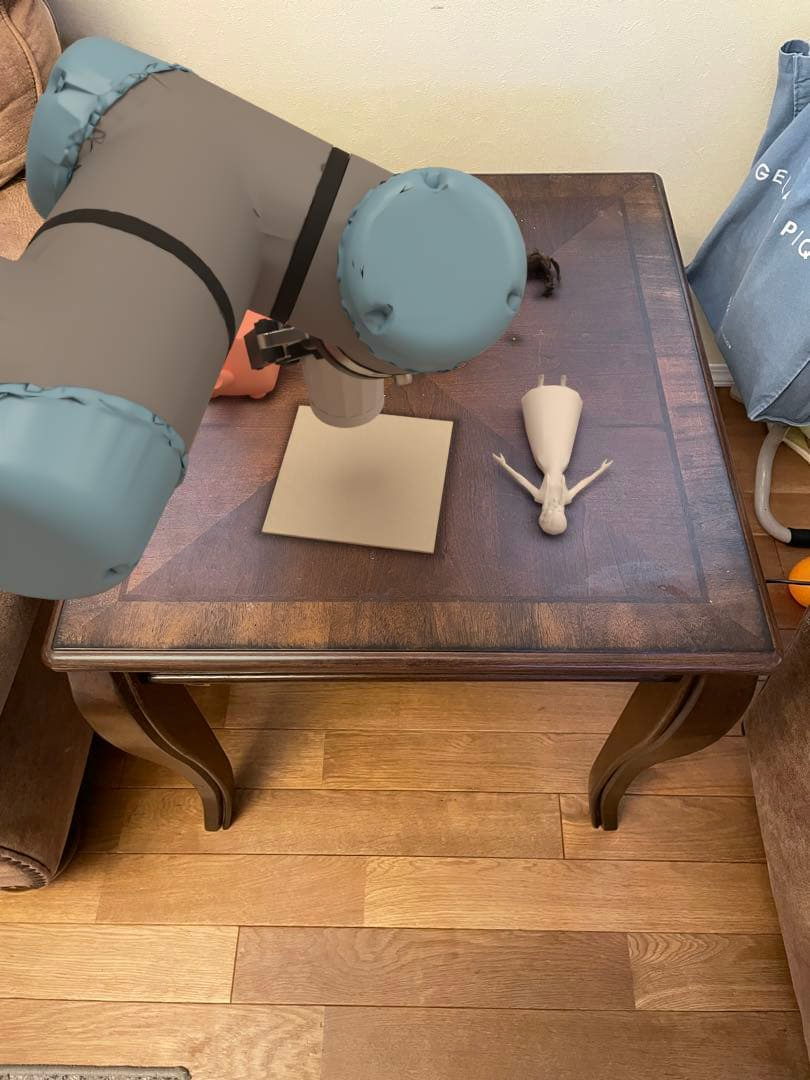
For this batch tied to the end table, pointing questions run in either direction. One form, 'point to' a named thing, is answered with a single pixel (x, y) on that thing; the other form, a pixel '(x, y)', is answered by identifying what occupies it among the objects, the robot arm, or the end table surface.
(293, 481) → the napkin
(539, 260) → the horse figurine
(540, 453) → the woman figurine
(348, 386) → the cup
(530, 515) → the end table surface
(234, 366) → the teapot
